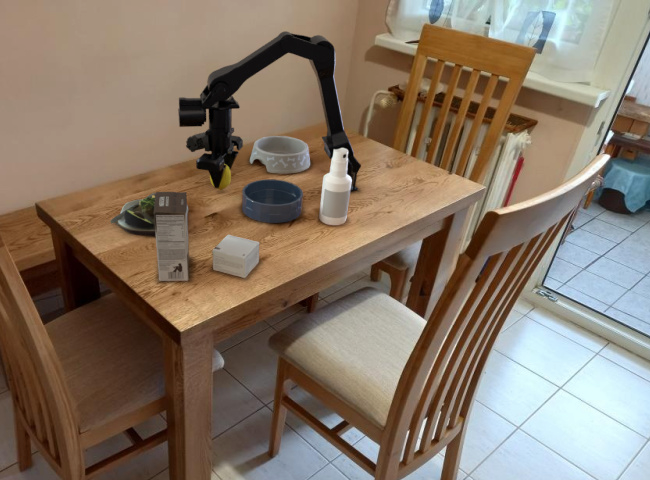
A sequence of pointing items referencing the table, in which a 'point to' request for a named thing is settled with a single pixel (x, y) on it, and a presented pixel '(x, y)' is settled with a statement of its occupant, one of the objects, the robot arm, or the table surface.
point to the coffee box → (172, 235)
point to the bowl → (272, 201)
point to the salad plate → (138, 217)
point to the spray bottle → (336, 190)
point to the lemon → (224, 179)
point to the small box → (236, 256)
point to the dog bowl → (281, 154)
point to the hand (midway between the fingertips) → (220, 183)
